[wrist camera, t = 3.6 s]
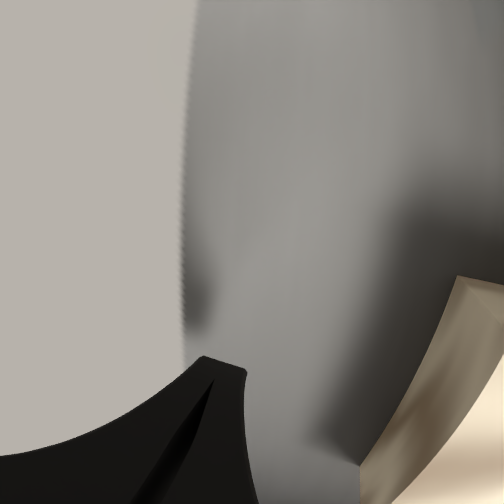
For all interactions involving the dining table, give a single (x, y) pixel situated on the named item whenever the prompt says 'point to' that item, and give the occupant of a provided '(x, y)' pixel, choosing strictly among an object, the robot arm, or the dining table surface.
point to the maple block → (448, 412)
